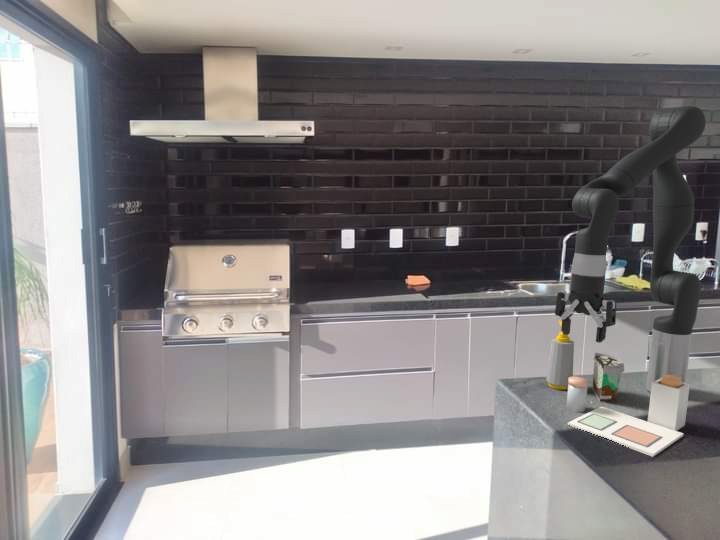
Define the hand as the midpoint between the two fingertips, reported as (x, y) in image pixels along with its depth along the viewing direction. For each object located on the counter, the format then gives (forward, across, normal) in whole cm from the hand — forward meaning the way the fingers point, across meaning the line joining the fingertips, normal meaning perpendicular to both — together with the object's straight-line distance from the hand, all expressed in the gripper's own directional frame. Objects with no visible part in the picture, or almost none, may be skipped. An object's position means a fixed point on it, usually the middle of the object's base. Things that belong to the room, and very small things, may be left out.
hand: (582, 337), depth 136 cm
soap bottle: (+18, +11, -11) cm, 24 cm away
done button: (+9, -18, -9) cm, 22 cm away
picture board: (+18, -14, +3) cm, 23 cm away
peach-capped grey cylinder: (+18, 0, 0) cm, 18 cm away
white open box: (+18, -18, -9) cm, 27 cm away
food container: (+18, -1, -15) cm, 24 cm away
